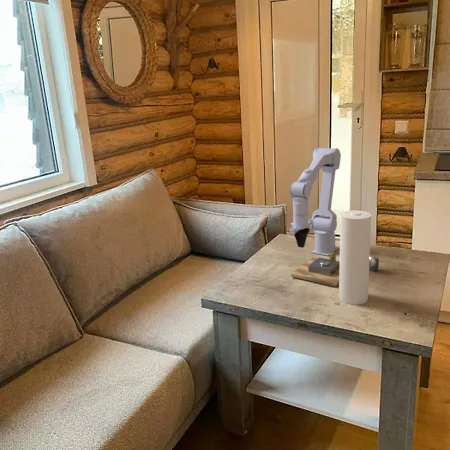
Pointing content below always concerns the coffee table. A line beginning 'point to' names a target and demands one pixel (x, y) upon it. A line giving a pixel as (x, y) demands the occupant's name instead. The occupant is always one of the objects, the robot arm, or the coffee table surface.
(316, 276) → the wooden base with peg
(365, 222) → the cylinder container
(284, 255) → the coffee table surface
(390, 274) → the coffee table surface
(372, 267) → the dial indicator
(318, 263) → the cover
